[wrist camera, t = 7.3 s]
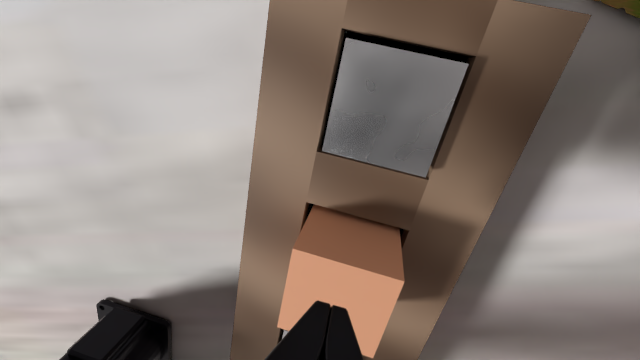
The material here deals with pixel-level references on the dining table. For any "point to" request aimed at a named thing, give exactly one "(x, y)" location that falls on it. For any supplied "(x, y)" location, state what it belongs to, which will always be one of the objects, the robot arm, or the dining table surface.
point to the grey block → (391, 106)
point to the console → (380, 182)
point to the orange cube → (345, 272)
